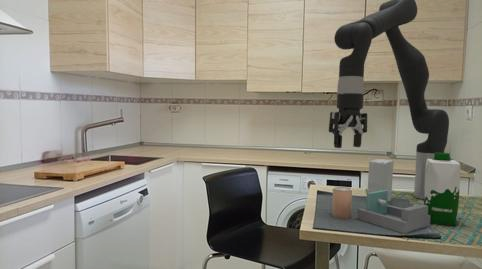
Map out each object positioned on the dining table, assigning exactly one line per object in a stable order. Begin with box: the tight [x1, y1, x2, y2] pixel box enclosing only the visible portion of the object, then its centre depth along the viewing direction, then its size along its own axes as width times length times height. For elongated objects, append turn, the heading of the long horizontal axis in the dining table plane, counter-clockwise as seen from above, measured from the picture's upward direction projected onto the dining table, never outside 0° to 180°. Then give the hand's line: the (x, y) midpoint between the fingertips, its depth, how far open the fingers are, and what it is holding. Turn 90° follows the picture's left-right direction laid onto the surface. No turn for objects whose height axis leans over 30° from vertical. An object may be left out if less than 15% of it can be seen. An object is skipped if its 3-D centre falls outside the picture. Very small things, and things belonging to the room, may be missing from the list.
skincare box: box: [366, 158, 394, 203], centre depth 127 cm, size 8×6×15 cm
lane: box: [356, 203, 431, 235], centre depth 103 cm, size 12×15×6 cm
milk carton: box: [423, 152, 462, 227], centre depth 104 cm, size 9×9×20 cm
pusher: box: [365, 190, 389, 214], centre depth 106 cm, size 9×3×7 cm, turn 124°
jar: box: [331, 186, 353, 220], centre depth 108 cm, size 6×6×9 cm
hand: (347, 147), depth 106 cm, fingers open, 8 cm apart
